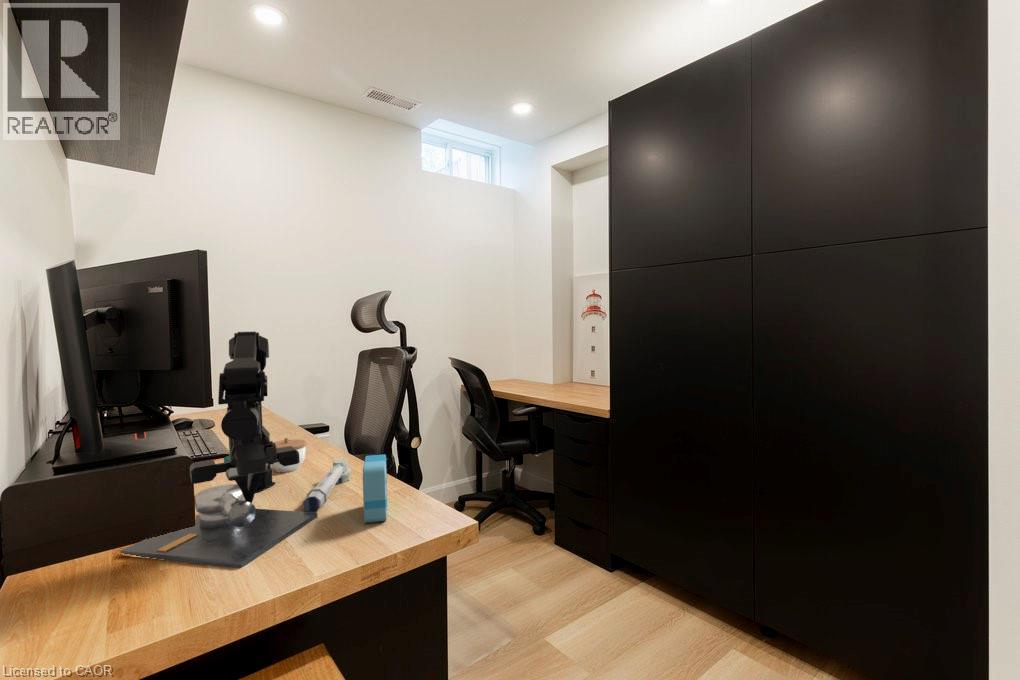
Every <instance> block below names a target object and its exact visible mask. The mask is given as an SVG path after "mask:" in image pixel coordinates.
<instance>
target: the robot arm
mask: <svg viewBox="0 0 1020 680" xmlns="http://www.w3.org/2000/svg"><path fill="white" fill-rule="evenodd" d="M233 335H234V336H233V337H232V338H230V339H229V340H228V356H229V359H230V360H231V361H229V362H226V363H225V365H224V368H223V372H220V373H219V379H218V397H217V398H218V399H217V403H218V404H217V405H227V407H226V413H225V415H224V416H223V417H222V420H221V423H220V425H221V426H220V427H221V431H222V432H223V434H224V436H226V437H227V438H228V451H229V456H230V461H229V462H224V461H223V462H219V463H216V462H215V460H214V459H213V458H212V459H207V460H201V461H196V462H192V463H191V464H190V466H189V477H190V482H191V484H193V485H194V484H195V485H196V484H201V483H206V482H212V481H213V480H215V478H216V477H217V474H222V473H225V476H226V478H227V480H228V482H229V481H230V482H232V481H235V484H238V486H239V487H240V490H241V492H242V494H243V496H244V499H245V501H248V502H250V503H252V504H253V500H254V497H255V495H256V493H259V492H262V491H264V490H266V489H268V488H270V487H272V486H274V485H276V481H273V470H272V469H273V468H272V467H271V465H270V464H274V463H275V462H279V463H280V464H281V465H283V466H289V465H294V464H298V463H300V459H299V452H298V451H297V450H296V449H295V448H293V447H292V446H287V447H281V448H276V445H275V443H273V440H271V438H270V432H269V431H268V430H267V429H266V427H265V426H264V425H263V422H264V421H263V405H262V403H263V402H264V401H265V397H268V375H266V372H265V371H264V370H265V369H266V367H267V366H266V365H267V359H269V358H270V345H269V340H268V338H266V337H264V336H262V335H260V332H257V331H237V332H234V333H233ZM235 465H236V466H235Z"/></svg>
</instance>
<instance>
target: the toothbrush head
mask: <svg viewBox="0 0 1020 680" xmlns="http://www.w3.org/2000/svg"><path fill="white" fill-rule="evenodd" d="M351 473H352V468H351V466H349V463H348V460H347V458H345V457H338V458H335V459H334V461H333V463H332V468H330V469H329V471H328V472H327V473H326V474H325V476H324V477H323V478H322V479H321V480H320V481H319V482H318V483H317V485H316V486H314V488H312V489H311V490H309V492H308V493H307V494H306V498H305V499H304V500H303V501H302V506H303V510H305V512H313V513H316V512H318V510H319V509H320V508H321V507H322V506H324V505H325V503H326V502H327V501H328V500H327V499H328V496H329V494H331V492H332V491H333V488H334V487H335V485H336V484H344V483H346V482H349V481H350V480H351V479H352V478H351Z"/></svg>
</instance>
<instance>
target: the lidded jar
mask: <svg viewBox="0 0 1020 680" xmlns="http://www.w3.org/2000/svg"><path fill="white" fill-rule="evenodd" d="M273 443H275V445H276V448H281V447H287V446H292V447H293V448H295V449H296V450H297V451H298V452H299V459H300V463H298V464H294V465H289V466H283V465H281V464H280V463H279V462H275V463H274V464H270V465H271V469H274V470H275V472H276V473H289V472H294V471H297V470H298V469H299V467H300V466H301V465H302V464H303V462H304V460H305V458H306V451H307V441H306V440H305V439H299V438H298V439H295V438H294V439H291V438H290V439H289V437H284V439H282V440H277V441H274V442H273Z"/></svg>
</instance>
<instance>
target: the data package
mask: <svg viewBox="0 0 1020 680" xmlns="http://www.w3.org/2000/svg"><path fill="white" fill-rule="evenodd" d="M387 481H388V477H387V455H386V454H373V455H371V454H370V455H366V456H365V458H364V462H363V467H362V496H363V497H362V498H363V500H362V501H363V521H364V523H365V524H368V523H369V524H370V523H377V522H378V523H379V522H385V521H387V517H388V516H387V515H388V482H387Z"/></svg>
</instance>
